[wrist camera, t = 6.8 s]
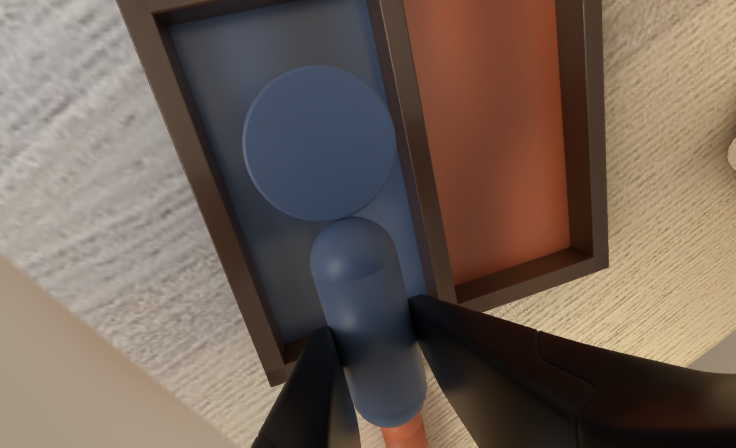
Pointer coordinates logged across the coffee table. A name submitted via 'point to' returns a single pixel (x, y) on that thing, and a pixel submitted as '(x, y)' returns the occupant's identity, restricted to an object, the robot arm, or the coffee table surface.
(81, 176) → the coffee table surface
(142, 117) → the coffee table surface
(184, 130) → the cutlery tray
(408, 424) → the terracotta spoon
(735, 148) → the cat figurine
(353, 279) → the blue spoon
